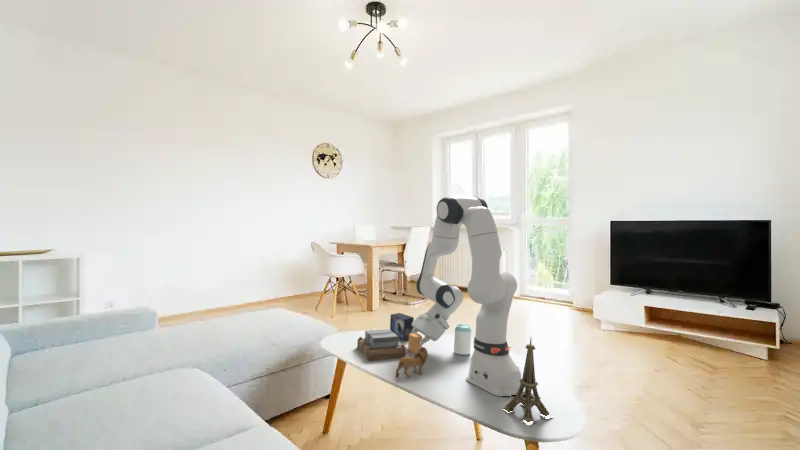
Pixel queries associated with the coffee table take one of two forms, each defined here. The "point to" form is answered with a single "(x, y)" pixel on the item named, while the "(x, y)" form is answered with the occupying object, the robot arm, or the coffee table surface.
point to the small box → (401, 325)
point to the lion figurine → (413, 361)
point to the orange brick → (414, 342)
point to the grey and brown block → (381, 345)
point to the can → (462, 339)
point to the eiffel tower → (528, 389)
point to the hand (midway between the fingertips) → (414, 340)
